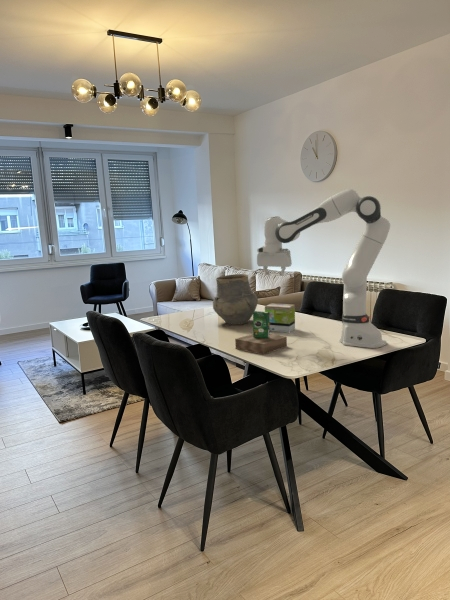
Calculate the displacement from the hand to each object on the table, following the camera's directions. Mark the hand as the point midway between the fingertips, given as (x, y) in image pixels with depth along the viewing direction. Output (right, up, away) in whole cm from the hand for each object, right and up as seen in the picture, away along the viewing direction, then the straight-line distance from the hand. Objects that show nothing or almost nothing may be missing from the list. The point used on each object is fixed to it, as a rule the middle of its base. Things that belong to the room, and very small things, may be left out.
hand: (274, 275), depth 238 cm
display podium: (-8, -37, -12) cm, 39 cm away
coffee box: (-8, -32, -12) cm, 35 cm away
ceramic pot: (-19, -28, +50) cm, 61 cm away
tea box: (+6, -31, +25) cm, 40 cm away
